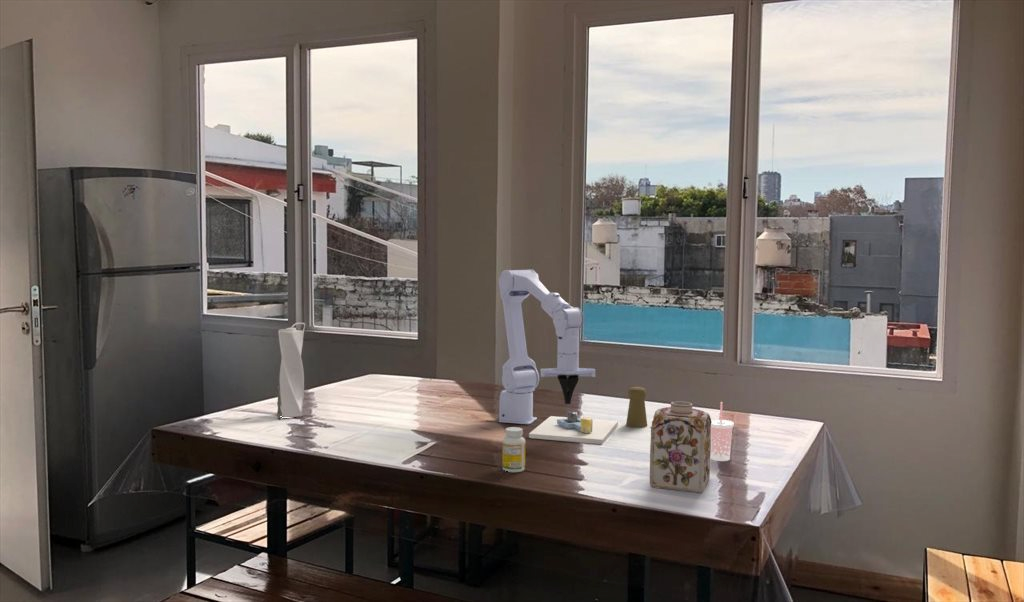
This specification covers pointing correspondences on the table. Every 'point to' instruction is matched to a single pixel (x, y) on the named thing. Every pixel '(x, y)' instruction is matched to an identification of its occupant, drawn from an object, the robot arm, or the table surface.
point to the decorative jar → (680, 448)
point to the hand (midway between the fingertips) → (567, 403)
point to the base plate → (574, 431)
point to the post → (572, 417)
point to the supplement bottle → (513, 450)
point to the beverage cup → (721, 438)
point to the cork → (637, 408)
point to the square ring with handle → (577, 424)
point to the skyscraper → (291, 373)
